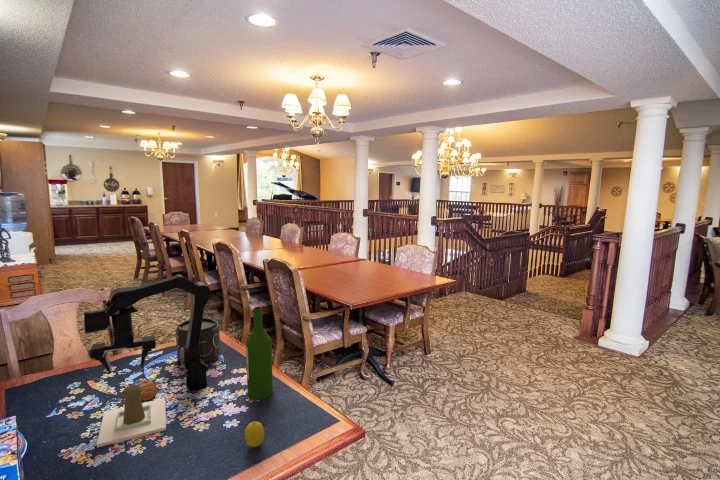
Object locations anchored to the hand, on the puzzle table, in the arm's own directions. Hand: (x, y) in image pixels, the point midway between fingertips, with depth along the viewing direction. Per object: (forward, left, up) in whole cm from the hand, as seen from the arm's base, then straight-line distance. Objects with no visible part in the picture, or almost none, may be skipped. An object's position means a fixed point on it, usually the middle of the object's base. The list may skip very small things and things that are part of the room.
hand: (126, 370), depth 130 cm
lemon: (-34, +40, -13) cm, 54 cm away
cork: (-2, +11, -12) cm, 17 cm away
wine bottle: (-42, +12, -13) cm, 46 cm away
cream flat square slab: (-2, +11, -13) cm, 17 cm away
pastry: (-5, -6, -14) cm, 16 cm away
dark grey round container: (-25, -28, -13) cm, 40 cm away
